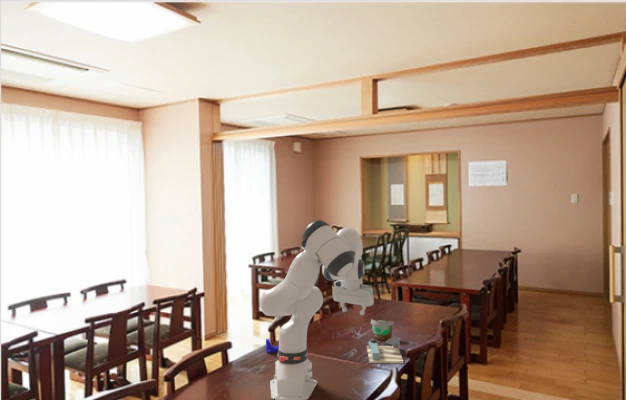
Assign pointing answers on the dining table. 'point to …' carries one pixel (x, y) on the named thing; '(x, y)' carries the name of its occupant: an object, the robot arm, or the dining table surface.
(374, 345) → the link
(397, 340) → the keeper
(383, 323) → the food container
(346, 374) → the dining table surface
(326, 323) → the dining table surface
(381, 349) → the board
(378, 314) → the dining table surface
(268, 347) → the cable clip
